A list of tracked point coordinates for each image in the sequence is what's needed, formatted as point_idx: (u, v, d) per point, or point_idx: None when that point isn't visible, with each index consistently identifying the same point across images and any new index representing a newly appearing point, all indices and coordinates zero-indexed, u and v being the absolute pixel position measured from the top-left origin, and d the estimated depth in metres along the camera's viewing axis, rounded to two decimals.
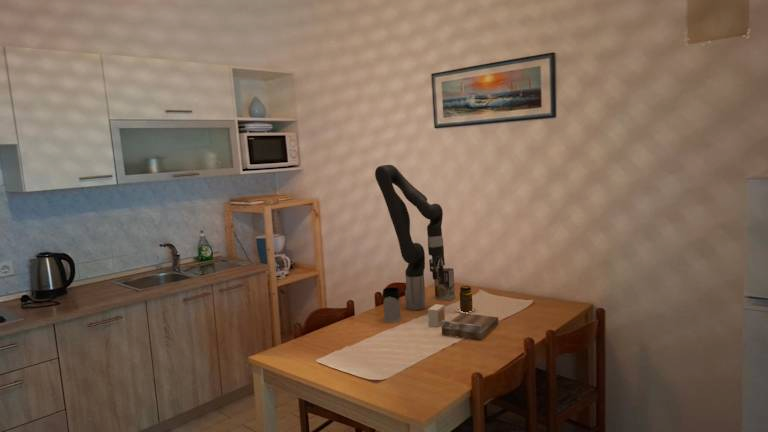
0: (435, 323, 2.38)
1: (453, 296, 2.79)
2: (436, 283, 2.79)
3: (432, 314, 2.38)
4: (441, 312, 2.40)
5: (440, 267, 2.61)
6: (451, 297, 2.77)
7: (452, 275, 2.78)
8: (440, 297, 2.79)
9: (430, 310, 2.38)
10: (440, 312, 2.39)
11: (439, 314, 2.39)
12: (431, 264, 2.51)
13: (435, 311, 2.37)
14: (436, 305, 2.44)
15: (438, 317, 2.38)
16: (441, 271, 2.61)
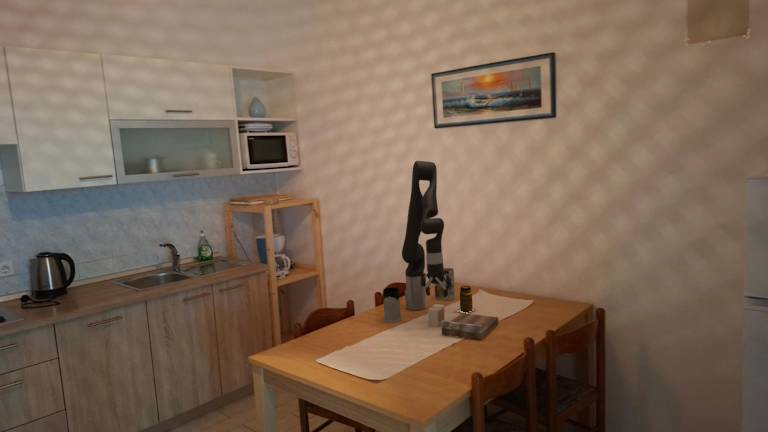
0: (436, 323, 2.38)
1: (453, 296, 2.79)
2: None
3: (432, 314, 2.38)
4: (441, 312, 2.40)
5: (428, 287, 2.42)
6: (451, 297, 2.77)
7: (452, 275, 2.78)
8: (440, 297, 2.79)
9: (430, 310, 2.38)
10: (440, 312, 2.39)
11: (439, 314, 2.39)
12: (449, 280, 2.36)
13: (435, 311, 2.37)
14: (436, 305, 2.44)
15: (438, 317, 2.38)
16: (429, 291, 2.43)
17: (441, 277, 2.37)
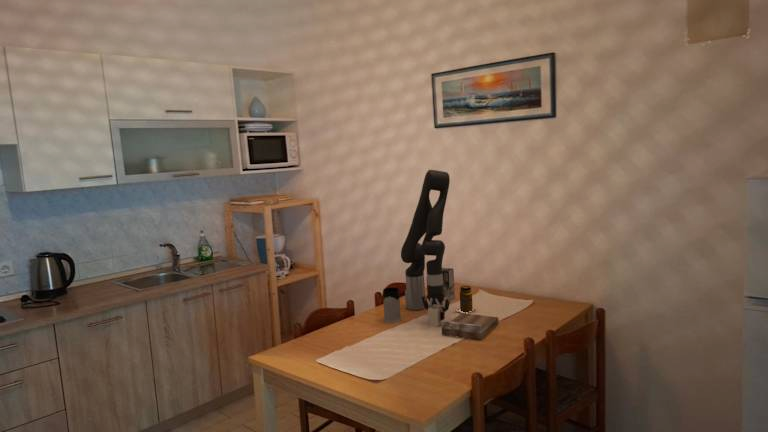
0: (435, 323, 2.38)
1: (453, 296, 2.79)
2: None
3: (432, 314, 2.38)
4: None
5: None
6: (451, 297, 2.77)
7: (452, 275, 2.78)
8: None
9: (430, 310, 2.38)
10: None
11: (439, 314, 2.39)
12: (448, 304, 2.37)
13: (435, 311, 2.37)
14: (436, 305, 2.44)
15: (438, 317, 2.38)
16: None
17: (441, 299, 2.38)
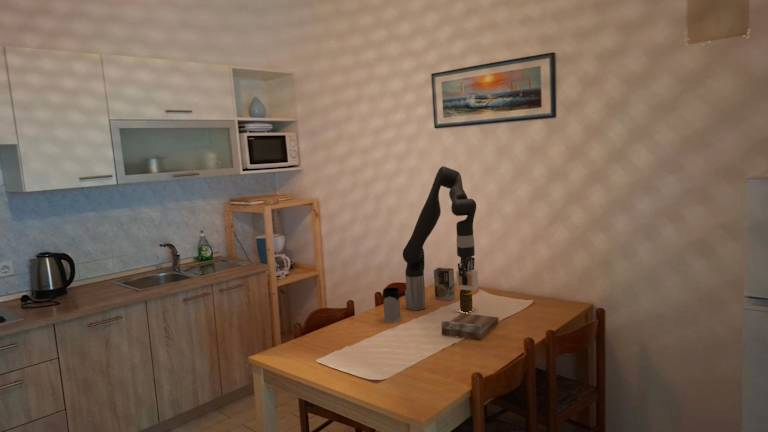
0: None
1: (453, 296, 2.79)
2: (436, 283, 2.79)
3: None
4: None
5: None
6: (451, 297, 2.77)
7: (452, 275, 2.78)
8: (440, 297, 2.79)
9: None
10: None
11: (460, 277, 2.27)
12: (460, 269, 2.22)
13: None
14: (472, 270, 2.27)
15: (458, 279, 2.27)
16: None
17: None
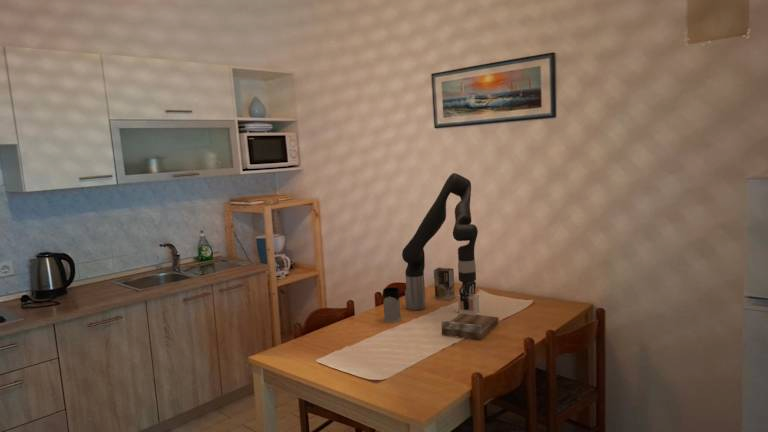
0: None
1: (453, 296, 2.79)
2: (436, 283, 2.79)
3: None
4: None
5: None
6: (451, 297, 2.77)
7: (452, 275, 2.78)
8: (440, 297, 2.79)
9: None
10: None
11: (462, 302, 2.28)
12: (461, 294, 2.24)
13: None
14: (474, 295, 2.29)
15: (460, 304, 2.29)
16: None
17: None
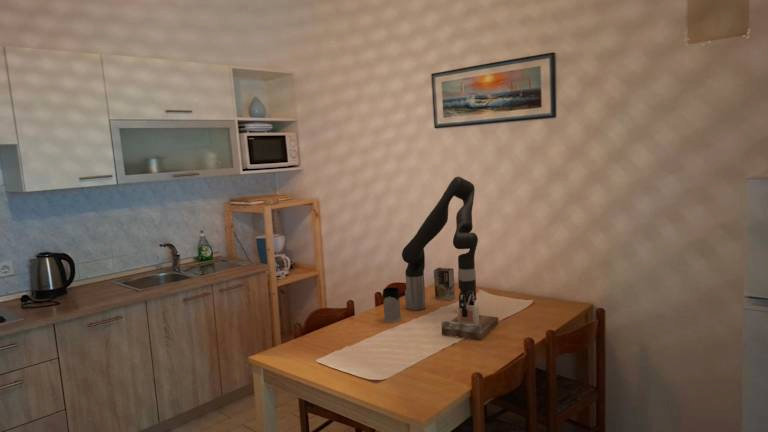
0: None
1: (453, 296, 2.79)
2: (436, 283, 2.79)
3: None
4: None
5: (471, 302, 2.33)
6: (451, 297, 2.77)
7: (452, 275, 2.78)
8: (440, 297, 2.79)
9: None
10: None
11: (461, 313, 2.29)
12: (461, 300, 2.23)
13: None
14: (474, 306, 2.29)
15: (459, 315, 2.29)
16: None
17: None
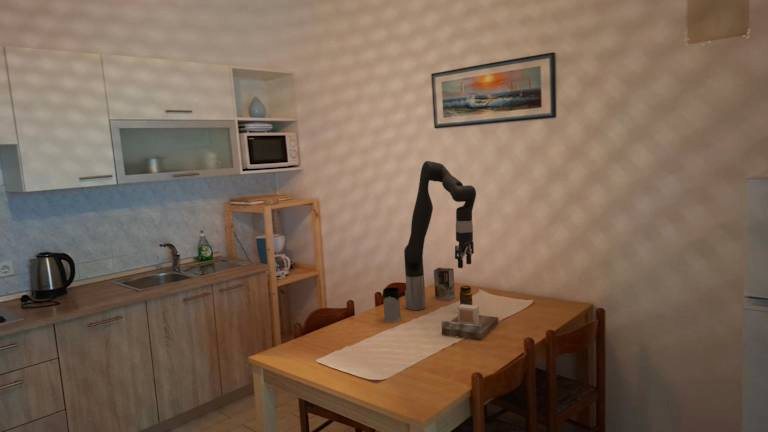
0: None
1: (453, 296, 2.79)
2: (436, 283, 2.79)
3: None
4: (466, 313, 2.27)
5: (468, 255, 2.38)
6: (451, 297, 2.77)
7: (452, 275, 2.78)
8: (440, 297, 2.79)
9: None
10: (464, 312, 2.28)
11: (461, 313, 2.29)
12: (456, 251, 2.28)
13: None
14: (474, 306, 2.29)
15: (459, 315, 2.29)
16: (469, 260, 2.38)
17: None
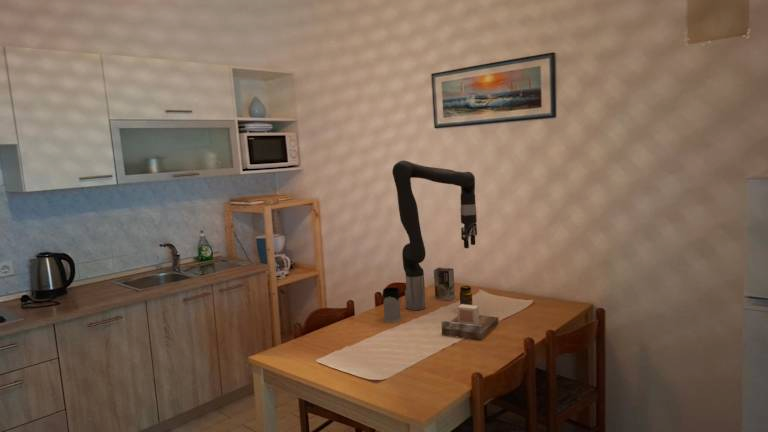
0: None
1: (453, 296, 2.79)
2: (436, 283, 2.79)
3: None
4: (466, 313, 2.27)
5: (472, 237, 2.57)
6: (451, 297, 2.77)
7: (452, 275, 2.78)
8: (440, 297, 2.79)
9: None
10: (464, 312, 2.28)
11: (461, 313, 2.29)
12: (463, 232, 2.48)
13: None
14: (474, 306, 2.29)
15: (459, 315, 2.29)
16: (473, 241, 2.57)
17: None
